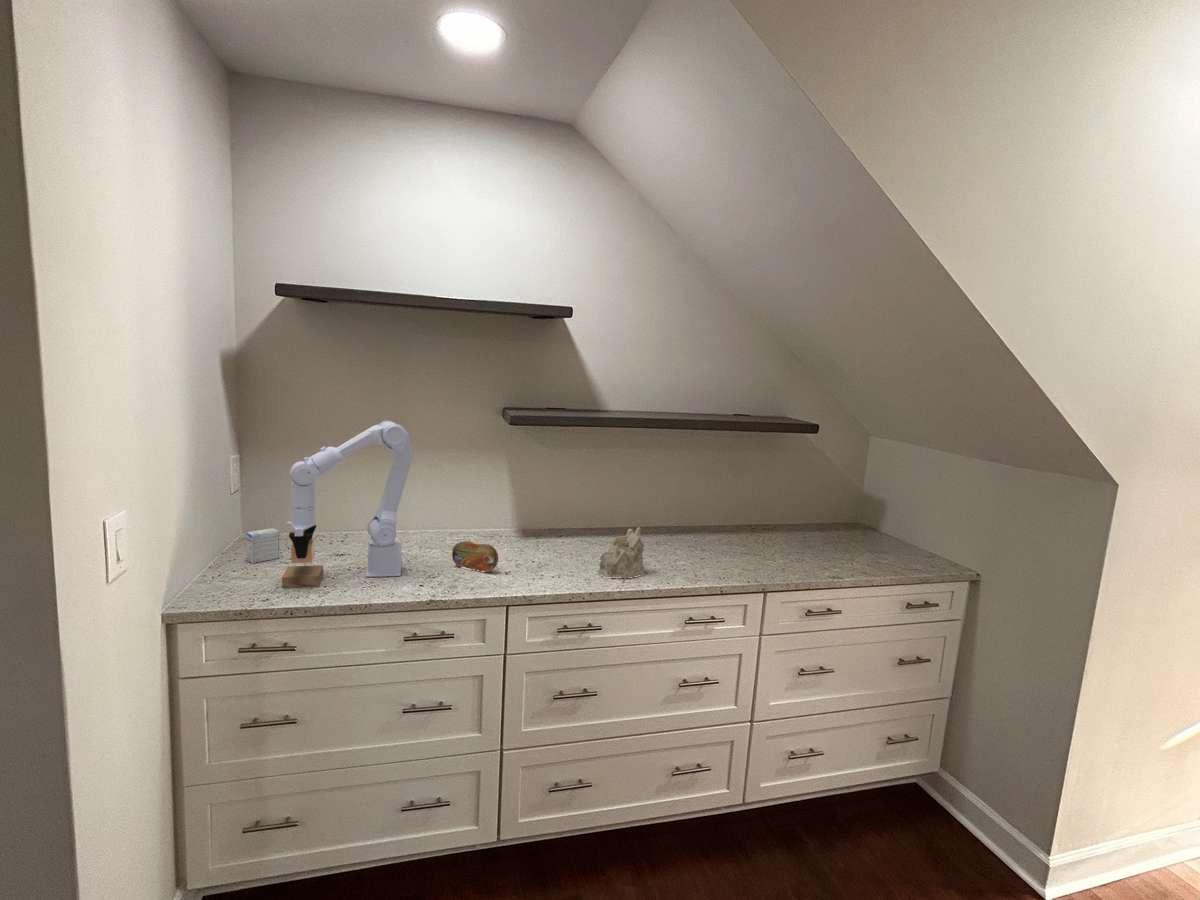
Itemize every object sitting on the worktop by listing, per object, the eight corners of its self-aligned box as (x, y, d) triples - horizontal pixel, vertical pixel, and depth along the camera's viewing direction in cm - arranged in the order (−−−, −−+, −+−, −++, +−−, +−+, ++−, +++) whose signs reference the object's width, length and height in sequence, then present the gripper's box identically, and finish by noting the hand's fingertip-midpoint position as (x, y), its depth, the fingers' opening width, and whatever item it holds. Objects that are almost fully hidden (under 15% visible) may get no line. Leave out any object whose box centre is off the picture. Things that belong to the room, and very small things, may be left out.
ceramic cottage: (632, 560, 209) (633, 517, 206) (651, 579, 194) (653, 532, 191) (587, 565, 204) (587, 521, 201) (603, 585, 189) (604, 537, 186)
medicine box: (273, 555, 193) (273, 527, 192) (280, 558, 190) (279, 530, 189) (245, 560, 187) (245, 532, 186) (252, 564, 184) (252, 535, 183)
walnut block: (323, 575, 179) (323, 565, 178) (318, 586, 170) (318, 575, 170) (288, 576, 176) (288, 566, 176) (282, 588, 167) (282, 577, 167)
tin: (451, 566, 193) (451, 540, 192) (457, 563, 196) (457, 537, 195) (493, 575, 187) (494, 547, 186) (499, 572, 190) (500, 545, 189)
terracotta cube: (314, 556, 175) (314, 539, 175) (311, 562, 170) (311, 544, 170) (294, 557, 174) (294, 539, 173) (291, 563, 169) (291, 545, 168)
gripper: (291, 500, 176) (291, 547, 178) (281, 512, 162) (281, 563, 164) (318, 500, 178) (318, 546, 180) (311, 512, 164) (311, 562, 166)
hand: (303, 554), depth 172 cm, fingers closed on terracotta cube, 5 cm apart
